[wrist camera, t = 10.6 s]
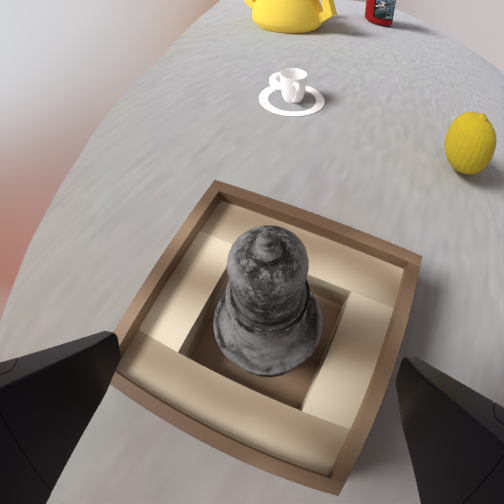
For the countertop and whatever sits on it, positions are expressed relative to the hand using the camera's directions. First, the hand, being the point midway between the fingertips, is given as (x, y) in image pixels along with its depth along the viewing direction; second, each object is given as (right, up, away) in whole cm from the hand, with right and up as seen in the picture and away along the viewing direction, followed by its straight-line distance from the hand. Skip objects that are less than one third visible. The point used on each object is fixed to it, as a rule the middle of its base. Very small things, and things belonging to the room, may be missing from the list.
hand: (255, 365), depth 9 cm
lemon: (+22, +12, +19) cm, 32 cm away
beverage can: (+30, +57, +45) cm, 79 cm away
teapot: (+8, +50, +42) cm, 66 cm away
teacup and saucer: (+7, +23, +27) cm, 36 cm away
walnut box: (+1, -2, +12) cm, 12 cm away
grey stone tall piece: (+1, -2, +11) cm, 11 cm away
